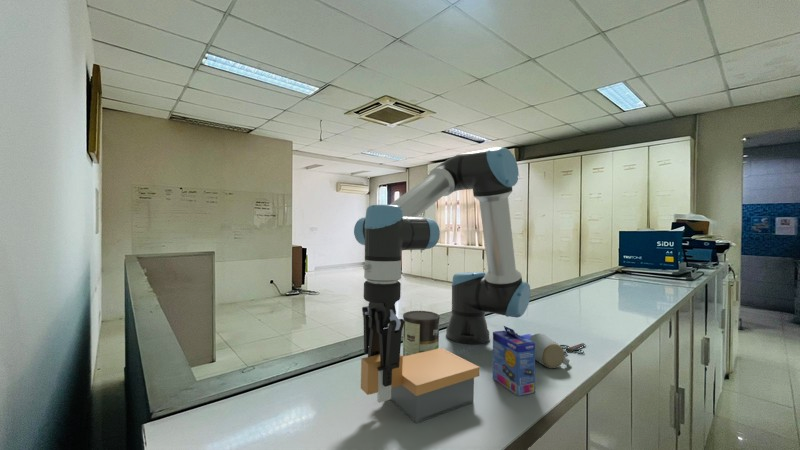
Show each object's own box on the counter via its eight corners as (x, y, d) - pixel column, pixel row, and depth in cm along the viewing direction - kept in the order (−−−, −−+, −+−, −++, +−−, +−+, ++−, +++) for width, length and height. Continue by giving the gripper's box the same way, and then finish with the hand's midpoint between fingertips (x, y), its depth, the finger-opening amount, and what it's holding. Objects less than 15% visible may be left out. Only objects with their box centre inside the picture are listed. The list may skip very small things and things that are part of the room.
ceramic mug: (543, 370, 90) (544, 342, 90) (526, 358, 98) (527, 333, 98) (576, 369, 92) (577, 341, 92) (557, 357, 100) (558, 332, 100)
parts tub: (440, 380, 82) (440, 353, 82) (473, 402, 72) (474, 370, 72) (386, 396, 74) (387, 365, 74) (416, 423, 64) (417, 387, 64)
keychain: (599, 349, 108) (599, 344, 108) (570, 360, 98) (570, 355, 98) (576, 342, 115) (576, 337, 115) (546, 352, 104) (546, 347, 105)
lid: (441, 355, 83) (441, 332, 83) (479, 375, 72) (479, 348, 72) (350, 378, 70) (351, 350, 70) (380, 407, 59) (381, 374, 59)
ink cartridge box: (490, 378, 84) (491, 322, 84) (507, 375, 86) (509, 320, 86) (517, 397, 75) (518, 334, 75) (535, 393, 77) (537, 332, 77)
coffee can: (439, 359, 95) (441, 311, 96) (436, 375, 85) (438, 321, 85) (405, 356, 97) (406, 309, 98) (398, 370, 87) (399, 318, 88)
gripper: (349, 276, 71) (346, 383, 71) (386, 288, 58) (383, 421, 57) (379, 274, 75) (377, 376, 75) (420, 285, 62) (417, 409, 61)
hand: (379, 395), depth 66 cm, fingers closed on lid, 3 cm apart
